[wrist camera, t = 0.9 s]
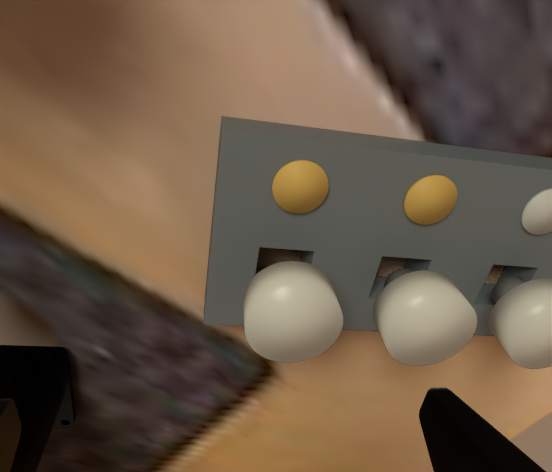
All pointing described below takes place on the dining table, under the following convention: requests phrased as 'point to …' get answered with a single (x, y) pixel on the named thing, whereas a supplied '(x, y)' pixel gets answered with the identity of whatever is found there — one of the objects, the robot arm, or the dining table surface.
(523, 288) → the white lever knob
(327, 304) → the button inner
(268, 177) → the board
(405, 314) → the button middle
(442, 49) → the dining table surface
